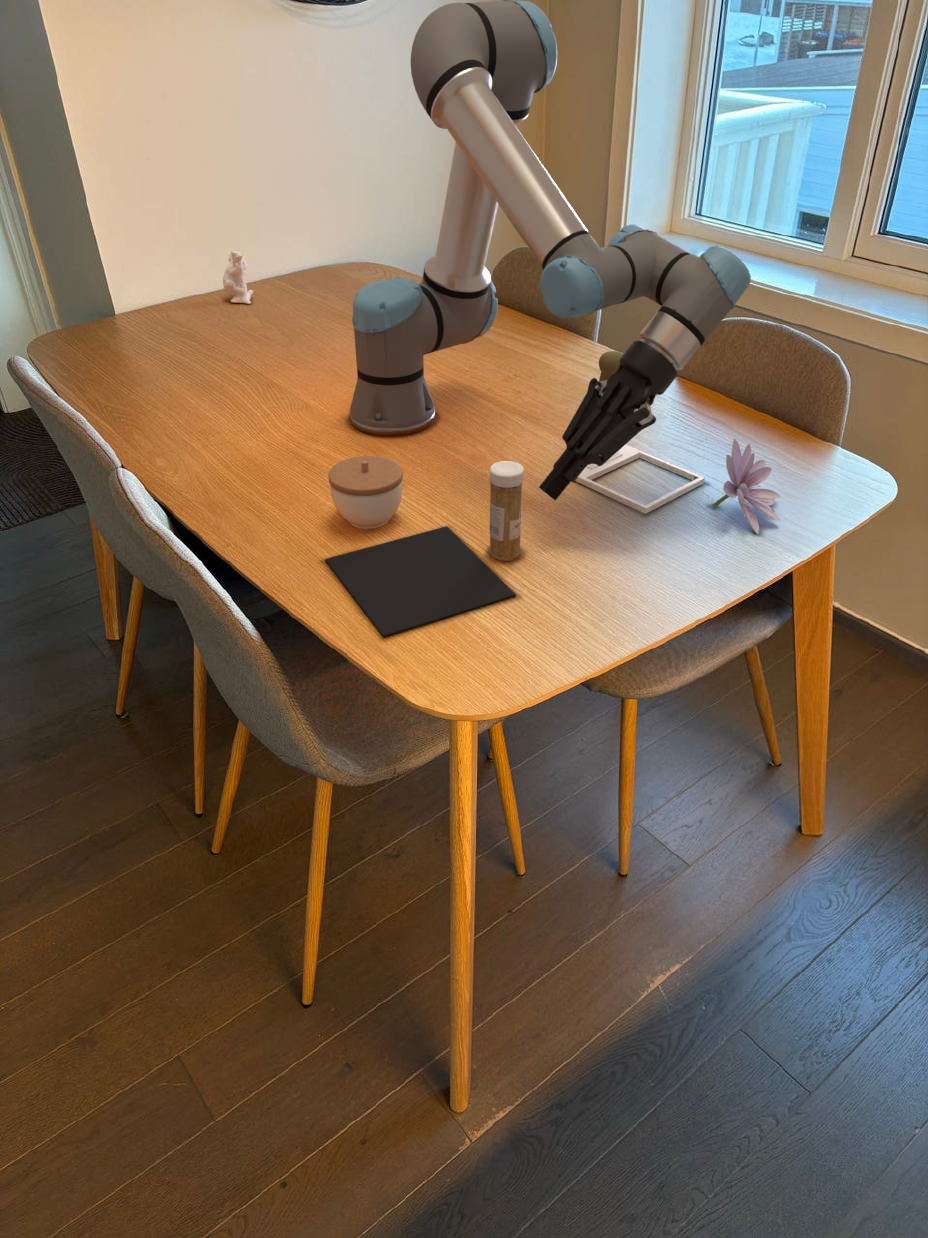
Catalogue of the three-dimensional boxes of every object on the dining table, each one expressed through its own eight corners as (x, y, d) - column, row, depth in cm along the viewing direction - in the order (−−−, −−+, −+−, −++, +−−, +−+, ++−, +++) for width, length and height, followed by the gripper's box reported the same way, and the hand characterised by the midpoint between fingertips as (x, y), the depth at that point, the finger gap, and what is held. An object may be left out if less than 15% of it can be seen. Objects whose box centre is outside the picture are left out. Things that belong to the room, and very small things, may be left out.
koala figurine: (259, 304, 221) (252, 251, 214) (231, 308, 219) (223, 254, 212) (250, 294, 227) (243, 242, 220) (223, 297, 225) (215, 245, 218)
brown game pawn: (624, 420, 167) (630, 360, 161) (590, 417, 168) (595, 358, 162) (626, 406, 172) (632, 348, 166) (593, 404, 173) (598, 346, 167)
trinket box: (333, 502, 143) (328, 446, 138) (403, 499, 144) (400, 443, 138) (331, 539, 135) (325, 480, 129) (406, 535, 135) (403, 477, 130)
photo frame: (617, 439, 158) (705, 476, 147) (617, 445, 159) (704, 482, 148) (558, 466, 150) (646, 507, 139) (557, 472, 151) (645, 513, 140)
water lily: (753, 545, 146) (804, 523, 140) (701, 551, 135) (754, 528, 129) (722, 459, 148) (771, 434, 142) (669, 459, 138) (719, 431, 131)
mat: (325, 561, 130) (325, 558, 130) (446, 528, 137) (446, 526, 137) (383, 638, 116) (383, 635, 115) (516, 596, 123) (516, 594, 122)
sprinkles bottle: (524, 560, 130) (528, 473, 122) (492, 564, 129) (494, 476, 121) (515, 543, 134) (518, 457, 126) (484, 547, 133) (485, 461, 125)
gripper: (702, 387, 124) (588, 527, 127) (642, 356, 133) (537, 487, 136) (675, 355, 118) (557, 501, 122) (615, 325, 128) (507, 462, 131)
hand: (547, 493), depth 129 cm, fingers closed
